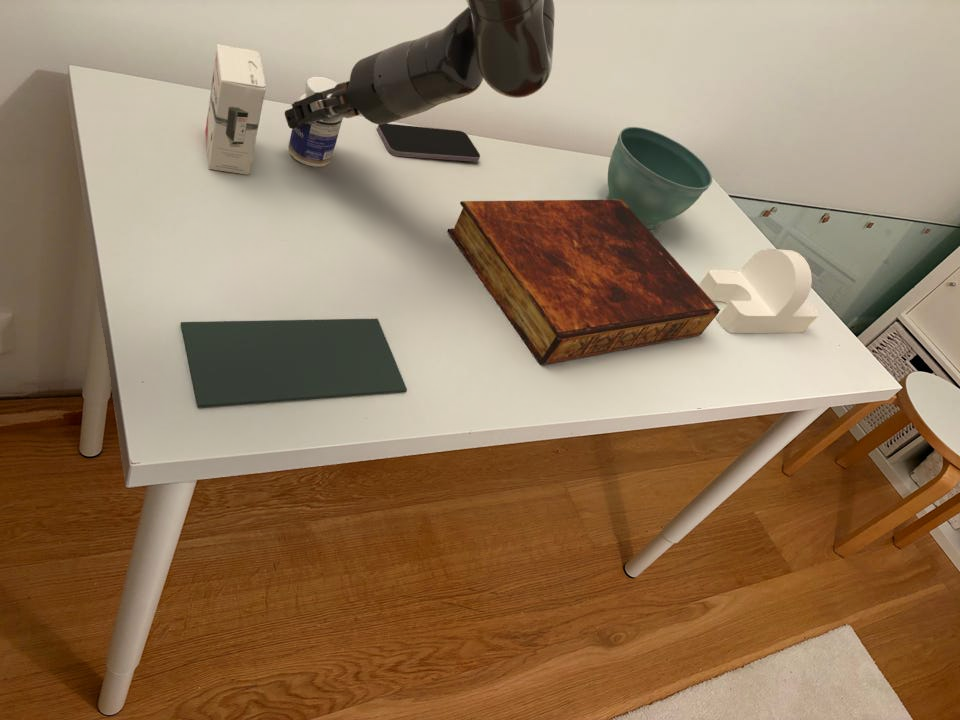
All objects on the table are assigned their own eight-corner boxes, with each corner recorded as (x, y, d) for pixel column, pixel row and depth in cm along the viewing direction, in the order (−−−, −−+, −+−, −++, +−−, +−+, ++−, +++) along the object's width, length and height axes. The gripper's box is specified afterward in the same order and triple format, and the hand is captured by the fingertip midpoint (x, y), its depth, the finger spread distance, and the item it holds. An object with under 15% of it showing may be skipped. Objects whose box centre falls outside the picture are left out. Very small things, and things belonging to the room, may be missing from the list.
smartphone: (375, 122, 106) (464, 130, 114) (374, 128, 107) (462, 136, 114) (391, 151, 102) (482, 158, 110) (389, 158, 103) (480, 164, 110)
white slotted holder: (692, 287, 110) (735, 231, 103) (771, 289, 119) (815, 239, 112) (727, 333, 104) (774, 278, 97) (806, 332, 113) (854, 282, 106)
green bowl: (568, 184, 117) (600, 126, 110) (630, 179, 127) (663, 125, 120) (632, 249, 110) (671, 192, 103) (692, 238, 121) (730, 185, 114)
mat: (197, 408, 63) (197, 405, 62) (180, 324, 68) (180, 321, 68) (406, 392, 73) (407, 389, 73) (376, 320, 79) (377, 318, 78)
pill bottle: (283, 139, 95) (299, 69, 89) (326, 145, 98) (343, 78, 92) (291, 165, 92) (308, 95, 86) (335, 171, 95) (354, 103, 88)
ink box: (203, 129, 90) (215, 39, 83) (244, 136, 92) (259, 49, 85) (207, 170, 85) (220, 78, 77) (250, 176, 87) (267, 88, 80)
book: (541, 366, 84) (560, 337, 80) (447, 231, 95) (460, 200, 92) (700, 336, 101) (721, 311, 98) (604, 224, 112) (620, 198, 109)
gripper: (430, 42, 86) (338, 79, 96) (345, 53, 75) (252, 93, 86) (448, 107, 88) (355, 136, 99) (366, 126, 78) (273, 156, 88)
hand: (307, 116), depth 92 cm, fingers closed on pill bottle, 5 cm apart
